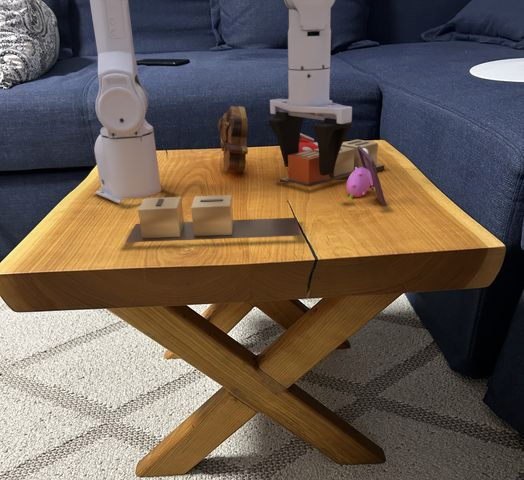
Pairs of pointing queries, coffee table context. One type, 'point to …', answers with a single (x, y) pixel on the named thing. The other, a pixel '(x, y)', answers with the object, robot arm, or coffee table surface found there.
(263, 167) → the coffee table surface
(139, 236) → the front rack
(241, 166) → the wooden carving
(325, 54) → the robot arm
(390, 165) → the coffee table surface
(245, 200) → the coffee table surface
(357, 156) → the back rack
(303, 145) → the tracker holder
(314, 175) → the terracotta cube
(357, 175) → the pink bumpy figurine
